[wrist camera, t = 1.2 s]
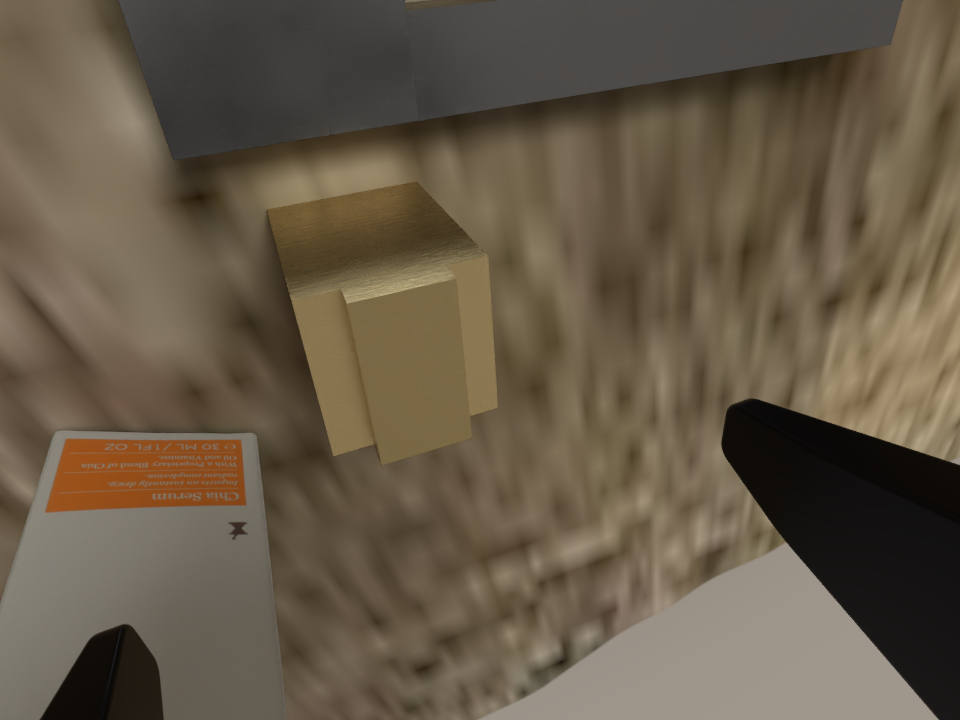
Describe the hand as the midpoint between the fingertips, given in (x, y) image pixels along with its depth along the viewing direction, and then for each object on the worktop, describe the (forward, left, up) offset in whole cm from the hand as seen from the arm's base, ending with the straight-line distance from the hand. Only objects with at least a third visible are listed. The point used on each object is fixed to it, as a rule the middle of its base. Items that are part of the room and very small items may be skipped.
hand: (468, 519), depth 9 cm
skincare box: (+7, +7, -13) cm, 16 cm away
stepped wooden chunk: (-1, +1, -13) cm, 13 cm away
